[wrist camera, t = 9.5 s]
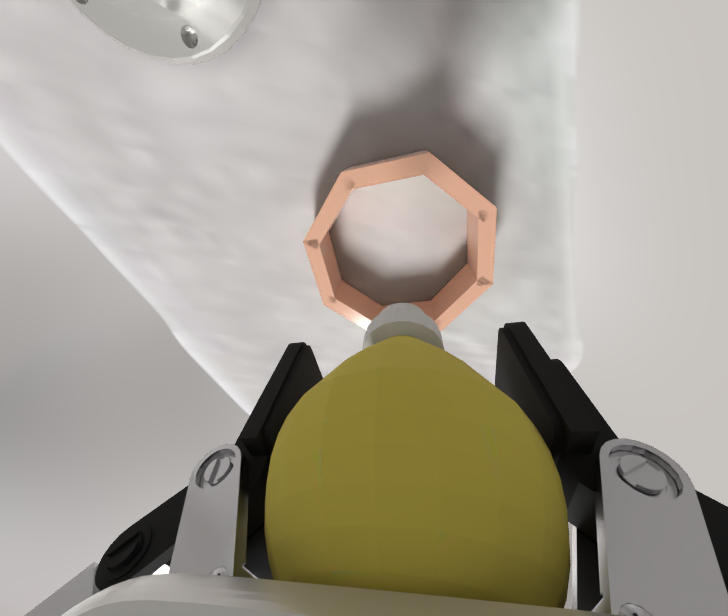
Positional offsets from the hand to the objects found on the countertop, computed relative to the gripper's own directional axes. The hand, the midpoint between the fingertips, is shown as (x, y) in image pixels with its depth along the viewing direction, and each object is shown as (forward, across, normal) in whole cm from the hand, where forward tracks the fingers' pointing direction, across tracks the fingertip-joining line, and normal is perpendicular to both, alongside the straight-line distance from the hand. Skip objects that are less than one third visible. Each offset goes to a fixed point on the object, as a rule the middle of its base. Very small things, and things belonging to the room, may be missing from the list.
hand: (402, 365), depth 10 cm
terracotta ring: (+12, 0, 0) cm, 12 cm away
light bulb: (+3, 0, 0) cm, 3 cm away
